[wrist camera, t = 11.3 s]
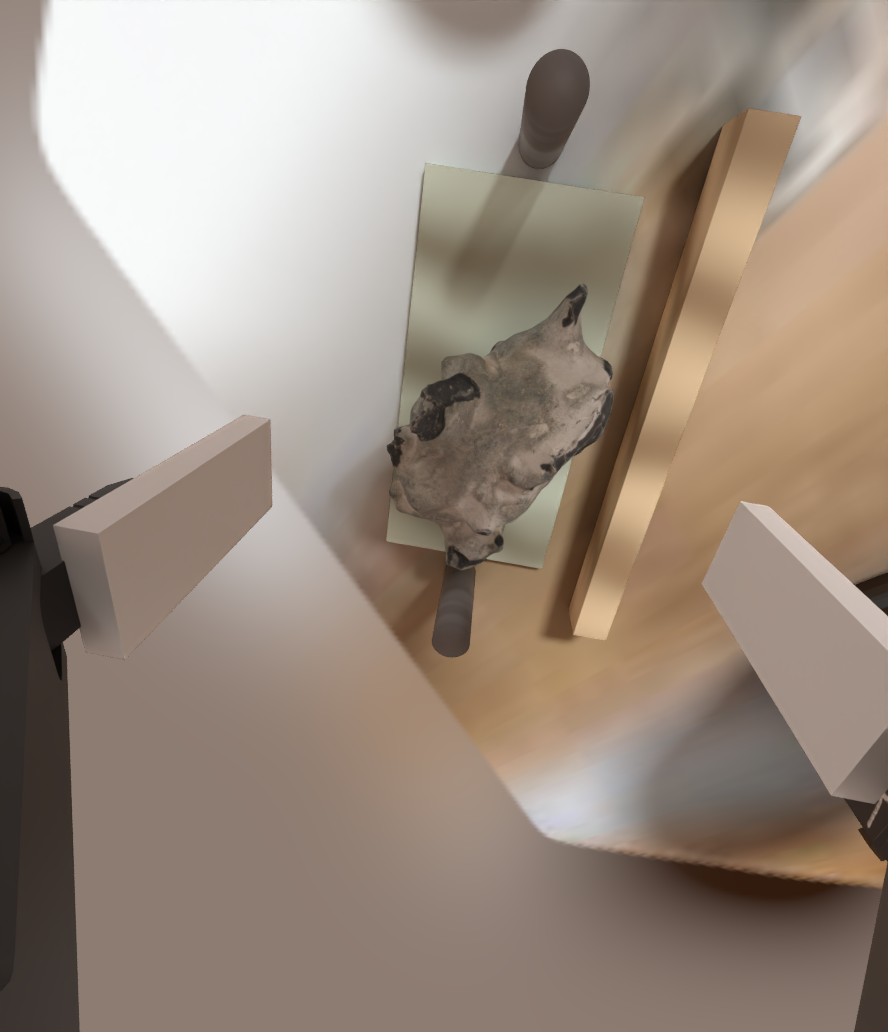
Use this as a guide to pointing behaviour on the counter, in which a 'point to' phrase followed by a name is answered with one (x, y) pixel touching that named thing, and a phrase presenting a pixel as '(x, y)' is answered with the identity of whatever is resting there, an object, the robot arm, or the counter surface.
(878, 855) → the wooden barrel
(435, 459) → the decorative stone
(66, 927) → the robot arm
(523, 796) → the counter surface
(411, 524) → the grey tray with pegs
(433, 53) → the counter surface
